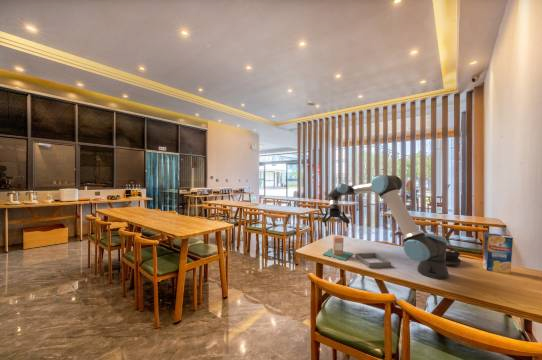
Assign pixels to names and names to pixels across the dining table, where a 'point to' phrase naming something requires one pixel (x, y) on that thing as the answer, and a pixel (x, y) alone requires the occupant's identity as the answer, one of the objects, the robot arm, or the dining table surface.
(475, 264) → the dining table surface
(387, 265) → the bin
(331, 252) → the mat
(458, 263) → the casserole
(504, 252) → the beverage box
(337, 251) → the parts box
